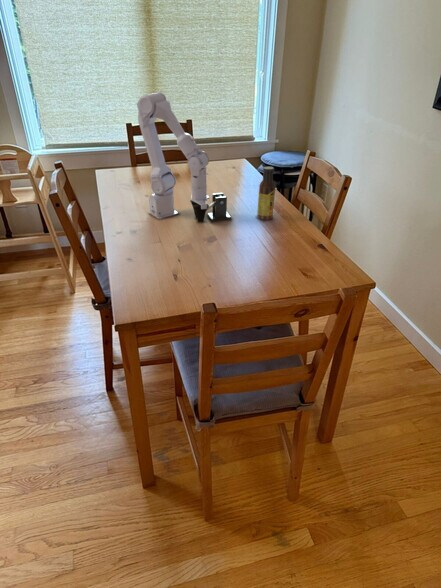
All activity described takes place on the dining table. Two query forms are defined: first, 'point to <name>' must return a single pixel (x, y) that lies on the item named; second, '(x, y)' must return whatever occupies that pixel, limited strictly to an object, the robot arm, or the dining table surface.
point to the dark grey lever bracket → (219, 208)
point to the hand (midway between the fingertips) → (199, 219)
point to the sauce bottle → (266, 195)
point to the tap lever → (213, 203)
